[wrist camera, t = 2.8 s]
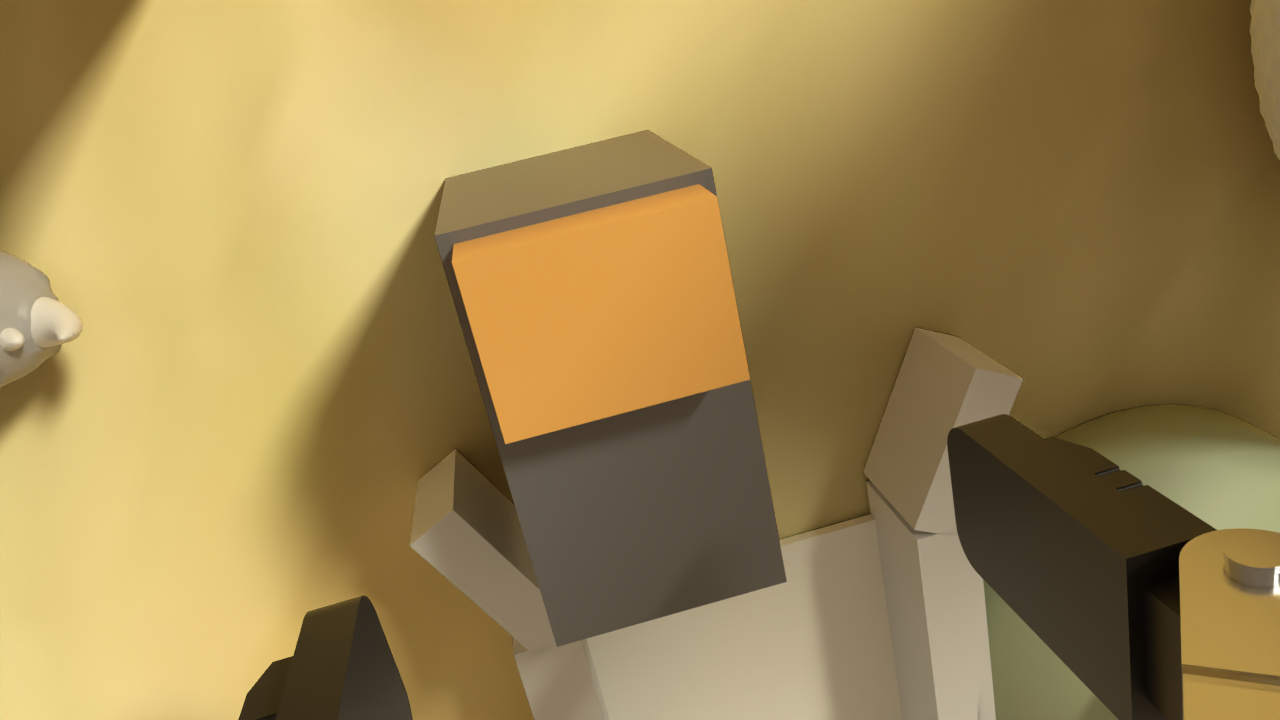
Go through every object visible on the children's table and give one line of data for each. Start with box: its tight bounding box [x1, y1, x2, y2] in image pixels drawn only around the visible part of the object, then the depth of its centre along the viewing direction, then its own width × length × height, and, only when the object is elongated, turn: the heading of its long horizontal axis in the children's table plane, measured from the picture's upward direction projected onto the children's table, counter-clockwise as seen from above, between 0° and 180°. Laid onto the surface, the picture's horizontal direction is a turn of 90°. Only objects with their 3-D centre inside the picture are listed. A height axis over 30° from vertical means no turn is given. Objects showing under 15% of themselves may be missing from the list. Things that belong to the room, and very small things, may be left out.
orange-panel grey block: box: [434, 130, 787, 647], centre depth 18 cm, size 8×4×7 cm, turn 13°
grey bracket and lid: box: [410, 327, 1280, 720], centre depth 24 cm, size 16×24×5 cm
